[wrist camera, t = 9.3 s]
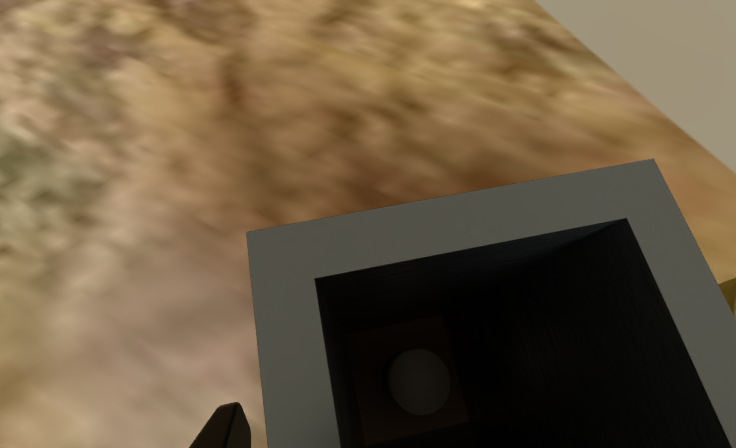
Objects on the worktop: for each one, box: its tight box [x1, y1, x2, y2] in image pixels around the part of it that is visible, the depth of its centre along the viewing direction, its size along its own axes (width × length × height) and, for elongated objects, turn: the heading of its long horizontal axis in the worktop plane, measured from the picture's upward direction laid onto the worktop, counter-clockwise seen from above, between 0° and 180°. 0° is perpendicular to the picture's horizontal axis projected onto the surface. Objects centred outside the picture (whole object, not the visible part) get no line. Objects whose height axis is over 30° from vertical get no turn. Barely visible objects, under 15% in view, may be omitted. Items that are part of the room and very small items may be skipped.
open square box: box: [246, 159, 736, 448], centre depth 10 cm, size 6×6×12 cm
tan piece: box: [346, 315, 469, 446], centre depth 15 cm, size 8×8×5 cm
